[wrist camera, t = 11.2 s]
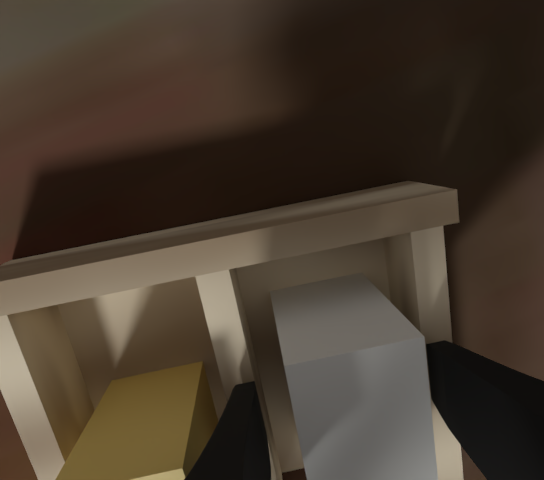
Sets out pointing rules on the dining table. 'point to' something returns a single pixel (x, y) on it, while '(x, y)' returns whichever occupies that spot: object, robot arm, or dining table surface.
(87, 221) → the dining table surface
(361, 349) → the grey plug
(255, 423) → the robot arm
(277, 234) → the birch comb rack
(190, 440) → the mustard plug
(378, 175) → the dining table surface
